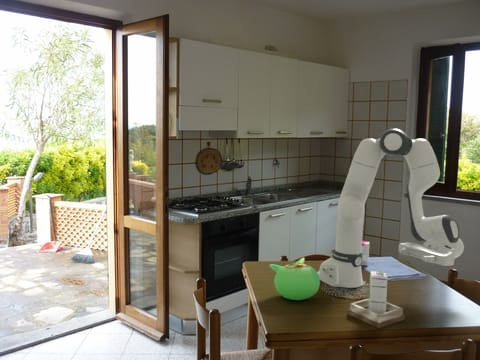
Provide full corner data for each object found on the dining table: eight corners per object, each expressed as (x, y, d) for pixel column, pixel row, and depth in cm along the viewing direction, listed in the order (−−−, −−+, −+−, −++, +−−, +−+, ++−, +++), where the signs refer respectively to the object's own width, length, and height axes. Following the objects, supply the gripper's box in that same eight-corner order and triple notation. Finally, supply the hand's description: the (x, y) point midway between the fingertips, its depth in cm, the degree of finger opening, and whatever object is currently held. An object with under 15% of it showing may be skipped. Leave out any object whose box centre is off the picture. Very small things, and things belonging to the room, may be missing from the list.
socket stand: (347, 313, 168) (348, 303, 167) (372, 306, 176) (373, 296, 175) (378, 328, 156) (379, 317, 156) (404, 319, 164) (405, 308, 164)
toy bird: (285, 308, 171) (286, 270, 170) (265, 292, 187) (267, 257, 185) (326, 303, 178) (328, 266, 176) (304, 288, 193) (306, 254, 192)
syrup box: (385, 316, 163) (388, 277, 161) (368, 314, 164) (371, 275, 162) (384, 310, 168) (386, 272, 166) (367, 308, 169) (369, 270, 168)
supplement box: (368, 263, 232) (369, 241, 231) (367, 266, 227) (369, 244, 225) (356, 262, 234) (358, 240, 233) (355, 265, 228) (357, 242, 227)
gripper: (411, 237, 188) (390, 240, 180) (459, 250, 172) (437, 254, 164) (410, 252, 189) (388, 256, 181) (457, 266, 172) (435, 271, 165)
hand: (412, 255), depth 172 cm, fingers open, 8 cm apart
